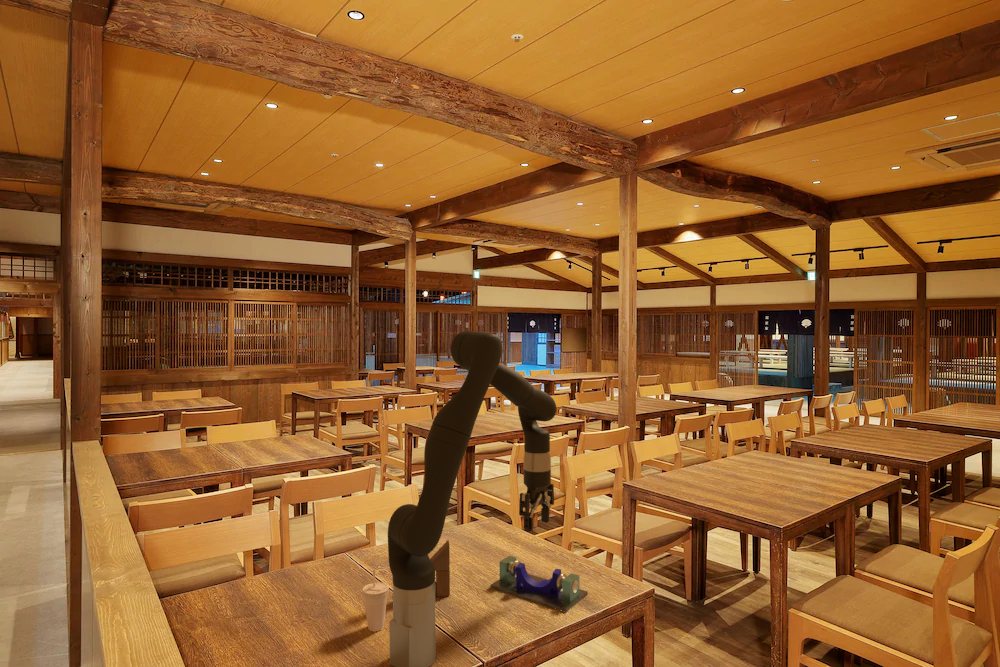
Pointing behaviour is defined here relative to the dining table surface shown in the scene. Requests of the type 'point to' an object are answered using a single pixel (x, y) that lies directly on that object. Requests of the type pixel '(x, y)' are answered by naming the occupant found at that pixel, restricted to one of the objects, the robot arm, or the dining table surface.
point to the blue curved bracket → (531, 585)
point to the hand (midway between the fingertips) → (537, 526)
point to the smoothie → (375, 604)
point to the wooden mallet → (442, 570)
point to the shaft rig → (564, 583)
